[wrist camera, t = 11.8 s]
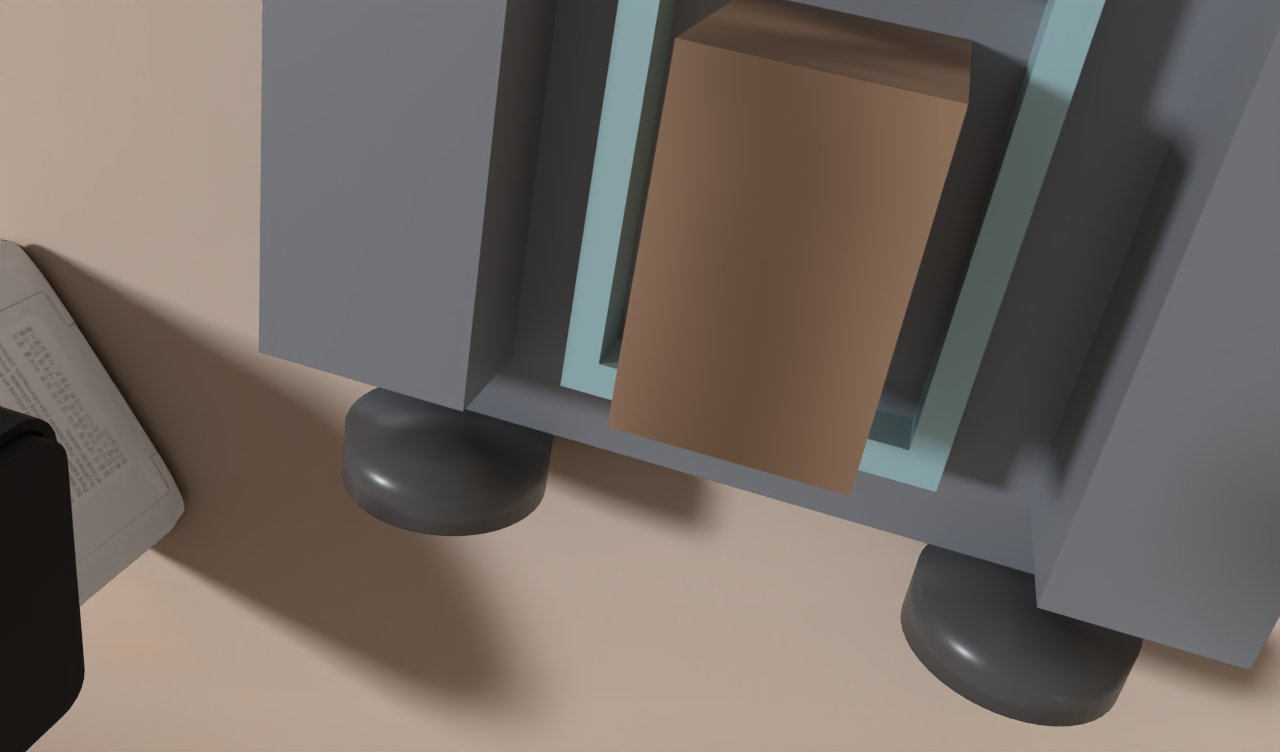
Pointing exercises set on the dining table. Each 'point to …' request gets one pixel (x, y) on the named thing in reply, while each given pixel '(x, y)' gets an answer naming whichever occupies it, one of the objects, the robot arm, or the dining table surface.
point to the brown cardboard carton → (785, 233)
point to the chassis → (929, 336)
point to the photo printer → (82, 426)
